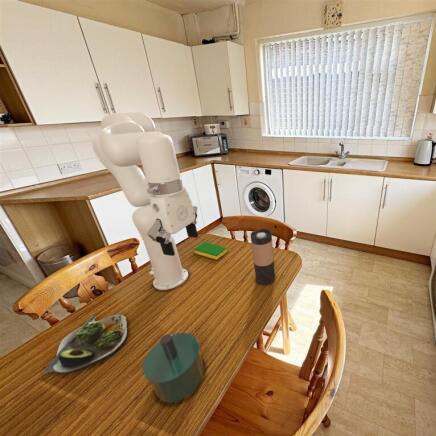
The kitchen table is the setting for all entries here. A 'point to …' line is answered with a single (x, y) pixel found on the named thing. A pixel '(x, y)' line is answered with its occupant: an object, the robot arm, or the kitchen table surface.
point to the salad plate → (89, 345)
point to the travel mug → (263, 255)
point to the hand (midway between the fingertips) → (182, 245)
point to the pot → (180, 384)
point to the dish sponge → (210, 250)
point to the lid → (171, 357)
